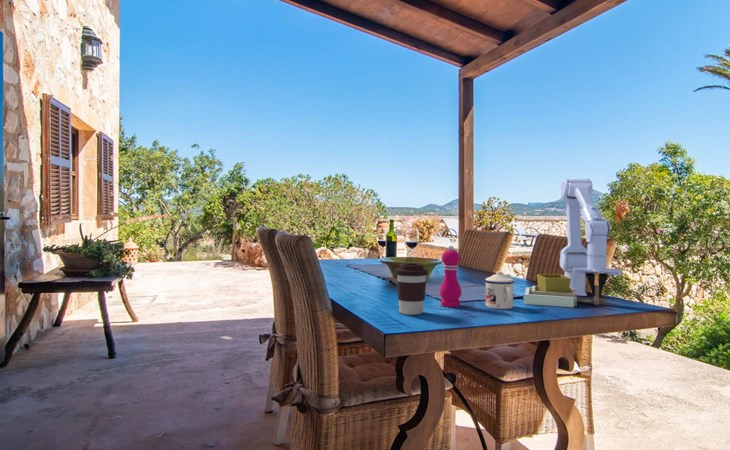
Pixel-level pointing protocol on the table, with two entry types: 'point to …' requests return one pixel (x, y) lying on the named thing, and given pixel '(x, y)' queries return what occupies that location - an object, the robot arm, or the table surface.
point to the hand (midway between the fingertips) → (596, 295)
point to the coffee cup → (411, 288)
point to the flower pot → (553, 283)
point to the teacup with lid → (499, 291)
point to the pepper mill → (450, 279)
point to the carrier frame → (569, 294)
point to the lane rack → (547, 299)
